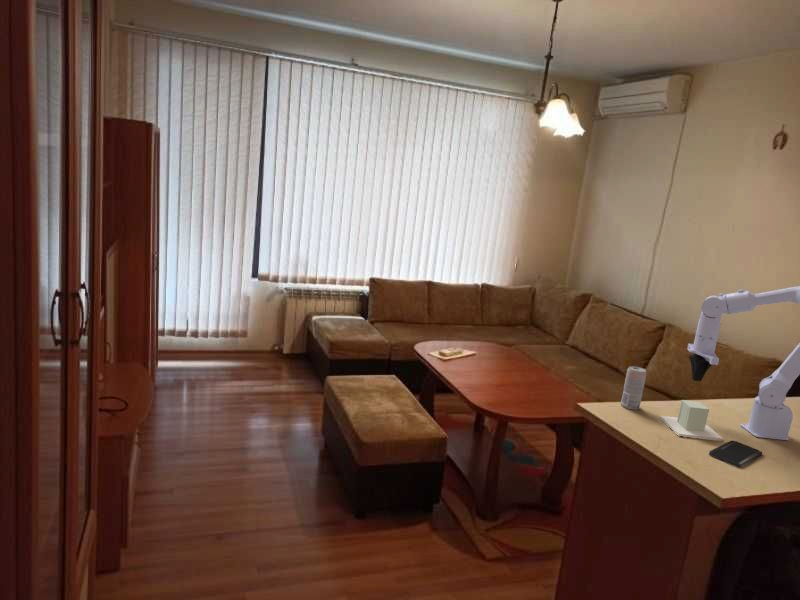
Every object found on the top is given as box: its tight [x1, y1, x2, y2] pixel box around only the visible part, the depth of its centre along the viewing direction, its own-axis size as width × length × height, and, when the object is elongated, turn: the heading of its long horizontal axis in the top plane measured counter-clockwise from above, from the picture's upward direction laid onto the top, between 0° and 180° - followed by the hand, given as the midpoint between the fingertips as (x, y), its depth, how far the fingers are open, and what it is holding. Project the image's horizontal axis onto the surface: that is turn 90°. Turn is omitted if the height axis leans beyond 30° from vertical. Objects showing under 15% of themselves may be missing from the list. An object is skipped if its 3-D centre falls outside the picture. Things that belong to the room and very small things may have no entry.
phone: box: [708, 440, 763, 469], centre depth 148 cm, size 8×1×15 cm
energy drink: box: [620, 365, 647, 411], centre depth 173 cm, size 5×5×12 cm
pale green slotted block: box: [677, 399, 710, 432], centre depth 161 cm, size 5×5×7 cm
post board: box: [659, 415, 724, 442], centre depth 161 cm, size 12×12×5 cm
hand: (696, 380), depth 172 cm, fingers closed
